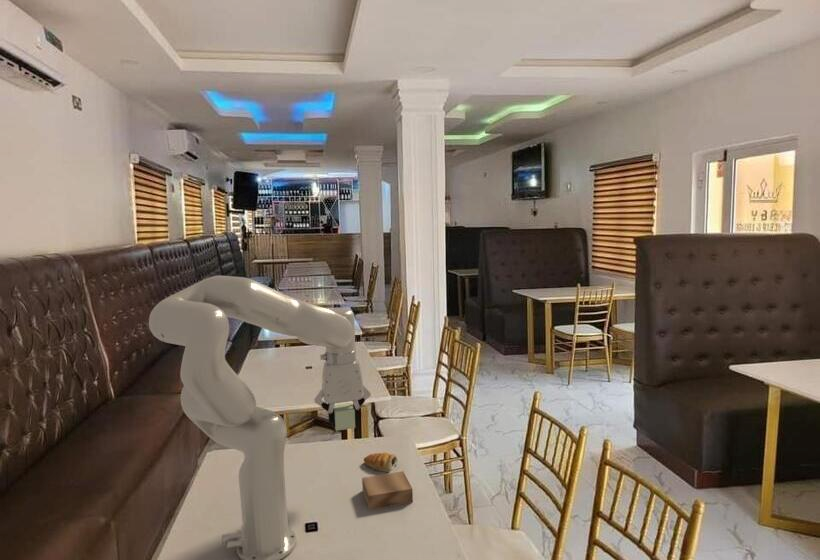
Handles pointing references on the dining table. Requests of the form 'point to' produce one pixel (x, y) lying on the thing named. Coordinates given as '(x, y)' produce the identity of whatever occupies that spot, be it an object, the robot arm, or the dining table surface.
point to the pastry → (381, 461)
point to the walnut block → (387, 490)
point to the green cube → (344, 416)
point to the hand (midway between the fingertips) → (344, 423)
